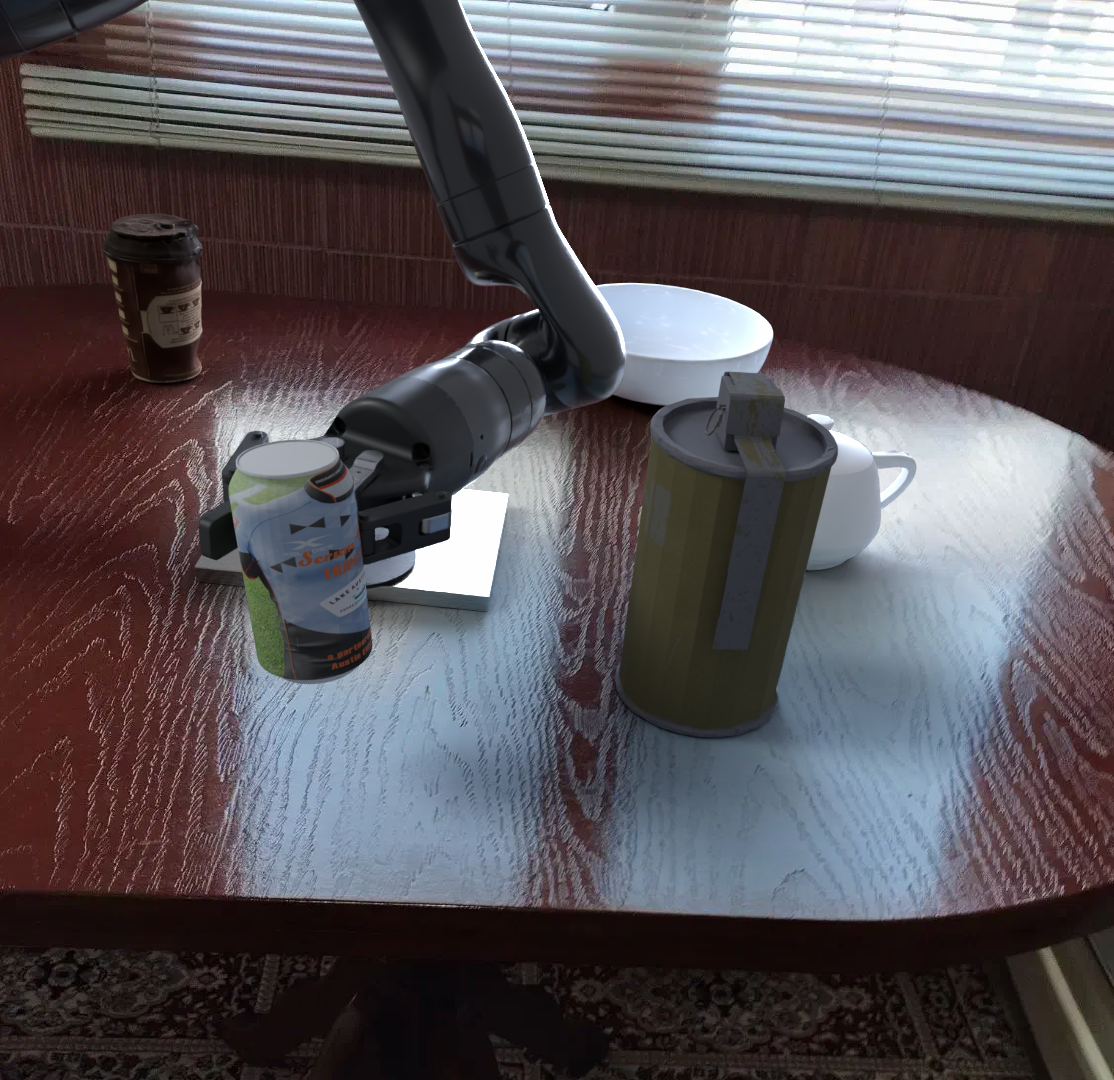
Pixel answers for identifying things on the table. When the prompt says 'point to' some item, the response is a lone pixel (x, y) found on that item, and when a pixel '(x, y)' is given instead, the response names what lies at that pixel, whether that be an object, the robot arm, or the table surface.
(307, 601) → the beverage can
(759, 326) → the serving bowl
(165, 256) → the coffee cup
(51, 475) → the table surface
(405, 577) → the hob
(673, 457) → the canister
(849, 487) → the teapot
